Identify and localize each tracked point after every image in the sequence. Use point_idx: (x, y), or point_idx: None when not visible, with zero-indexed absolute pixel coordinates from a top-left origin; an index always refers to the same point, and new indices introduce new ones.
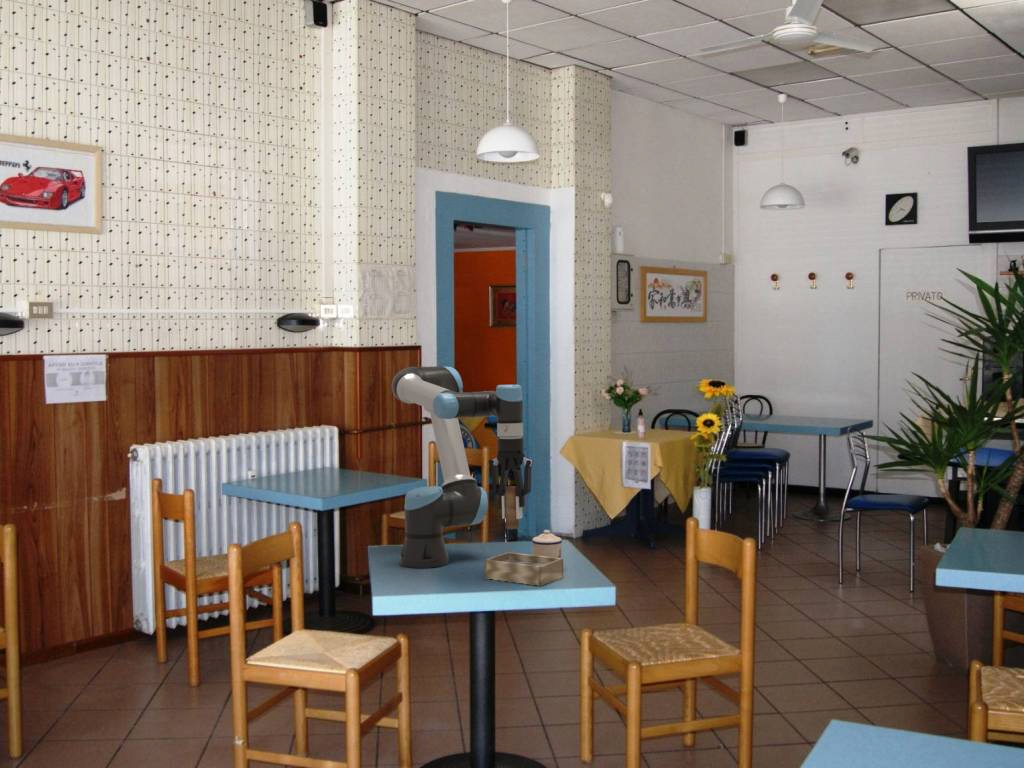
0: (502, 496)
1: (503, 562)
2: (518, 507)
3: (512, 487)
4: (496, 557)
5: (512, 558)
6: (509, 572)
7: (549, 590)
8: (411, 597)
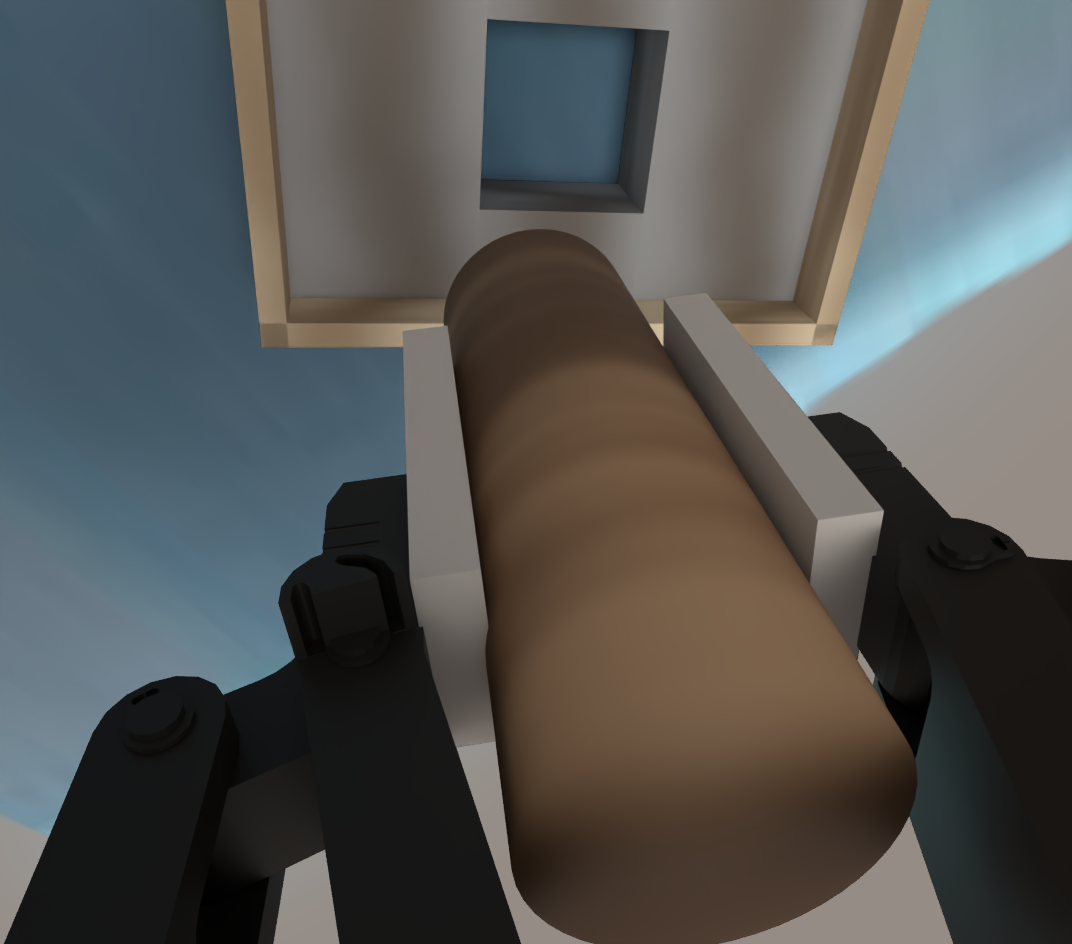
0: (464, 741)
1: None
2: None
3: (793, 883)
4: (275, 171)
5: None
6: None
7: (851, 346)
8: None
